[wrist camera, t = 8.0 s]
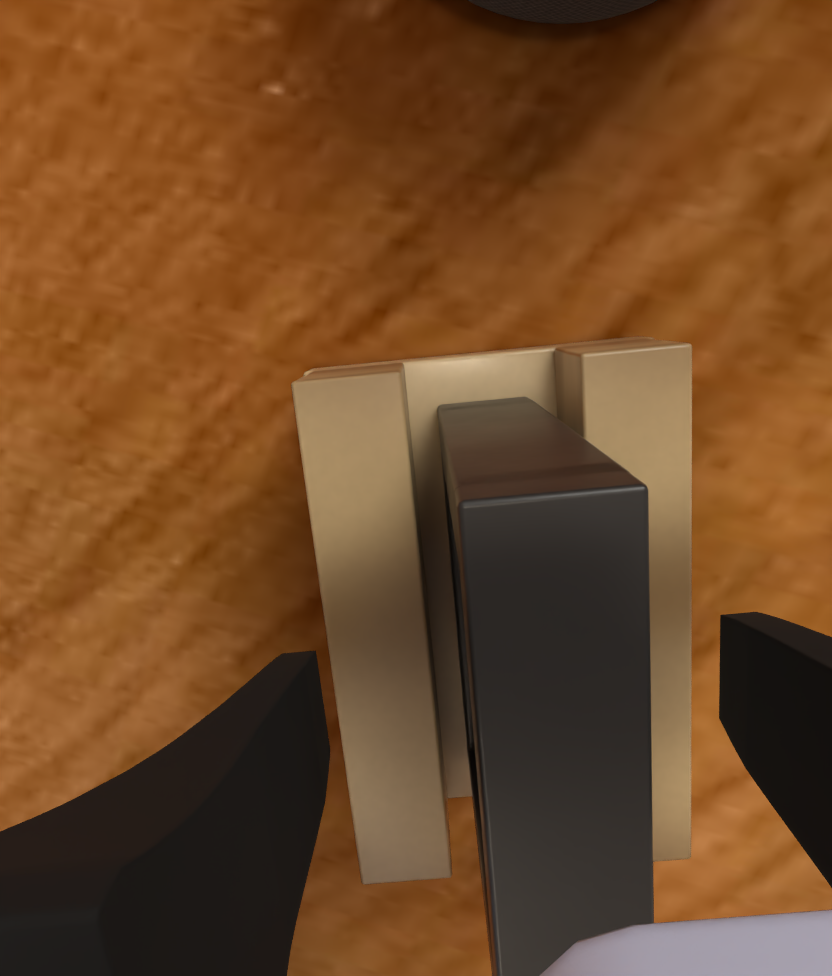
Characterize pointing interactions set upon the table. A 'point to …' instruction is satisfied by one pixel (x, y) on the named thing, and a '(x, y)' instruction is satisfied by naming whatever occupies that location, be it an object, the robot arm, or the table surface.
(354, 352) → the table surface
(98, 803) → the robot arm
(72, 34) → the table surface
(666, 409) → the holder
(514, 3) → the smart speaker
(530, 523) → the frame
